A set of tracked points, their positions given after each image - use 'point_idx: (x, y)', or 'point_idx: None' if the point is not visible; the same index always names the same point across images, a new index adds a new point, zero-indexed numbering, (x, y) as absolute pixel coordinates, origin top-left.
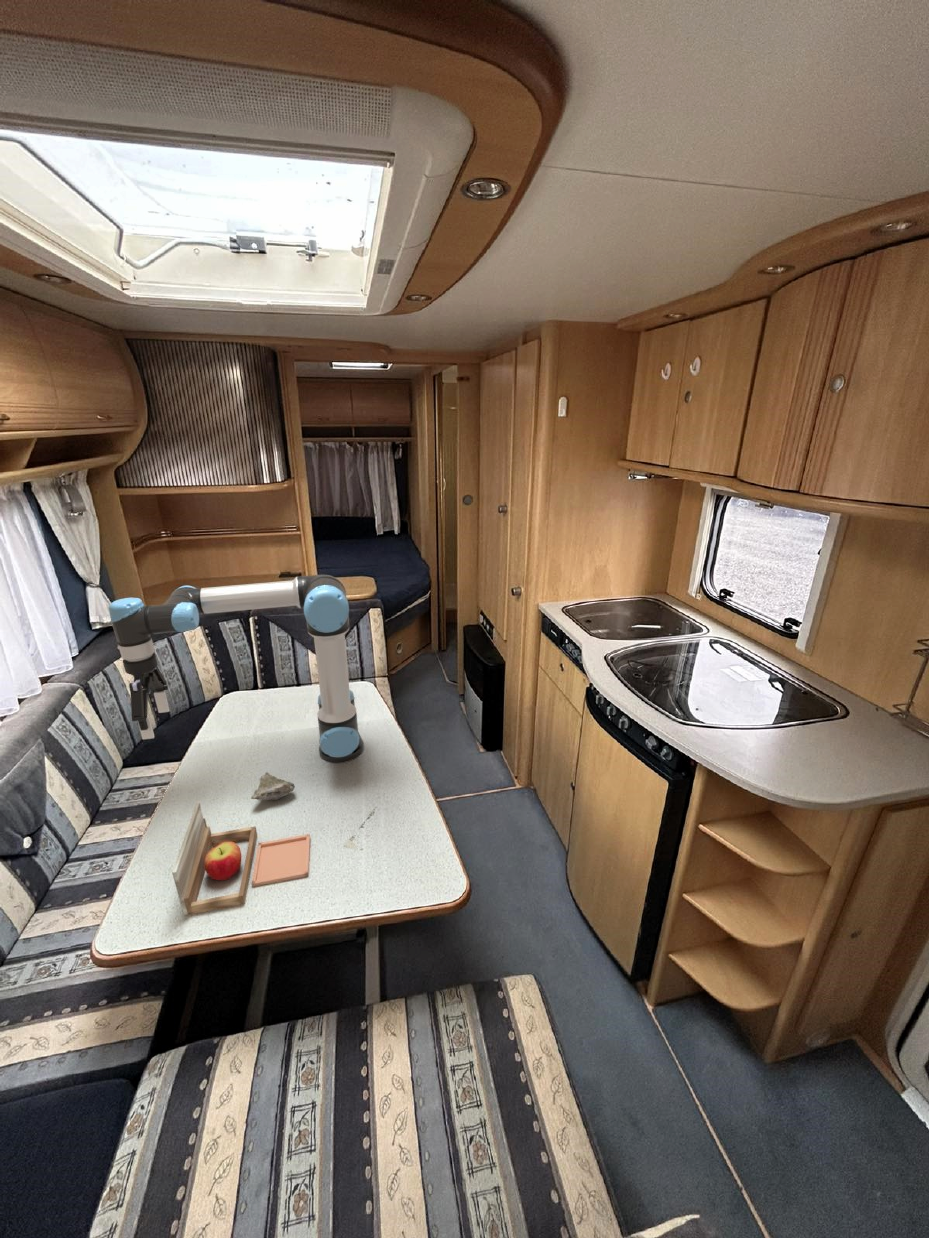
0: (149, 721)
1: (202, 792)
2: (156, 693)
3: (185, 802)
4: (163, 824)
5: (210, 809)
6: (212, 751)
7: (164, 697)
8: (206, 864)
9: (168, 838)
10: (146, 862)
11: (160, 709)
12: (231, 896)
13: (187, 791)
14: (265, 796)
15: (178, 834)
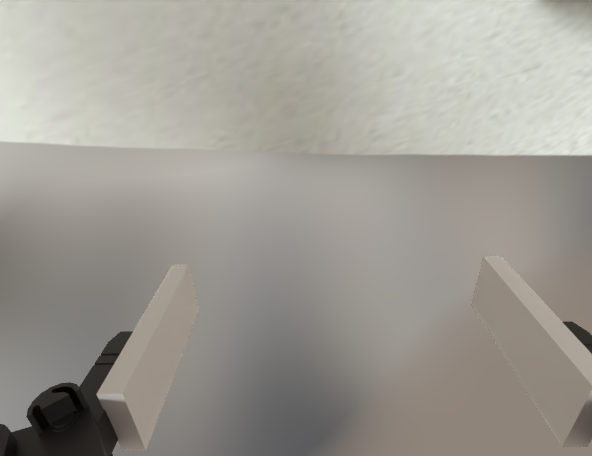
0: (578, 347)
1: (302, 74)
2: (141, 432)
3: (336, 112)
4: (409, 143)
5: (387, 25)
6: (101, 100)
7: (148, 352)
8: None
9: (468, 114)
10: (532, 140)
11: (190, 315)
12: None
13: (289, 121)
14: None
15: (463, 92)
